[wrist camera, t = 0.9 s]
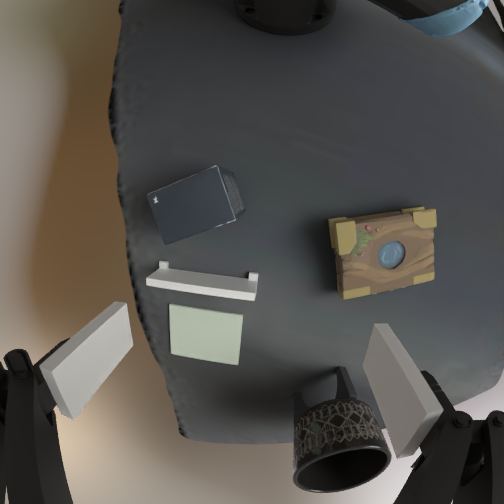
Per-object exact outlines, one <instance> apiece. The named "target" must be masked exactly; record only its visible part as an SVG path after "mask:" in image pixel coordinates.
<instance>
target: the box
mask: <svg viewBox="0 0 504 504" xmlns="http://www.w3.org/2000/svg"><path fill="white" fill-rule="evenodd" d="M147 198H148V201H149V204H150V207H151V209H152V212H153V215H154V218H155V221H156V223H157V226H158V229H159V232H160V234H161V237H162V239H163V242H164V244H165V245H168V244H170V243H173V242H176V241H178V240H181V239H184V238H187V237H190V236H192V235H195V234H198V233H201V232H204V231H207V230H209V229H212V228H215V227H218V226H221V225H224V224H227V223H229V222H233V221H235V220H236V219H237V218H238V217H239V216H240V215H242V214H243V213H244V212H245V211H246V209H245V207H244V204H243V201H242V198H241V195H240V192H239V189H238V186H237V183H236V180H235V177H234V174H233V172H231V171H229V170H227V169H224V168H222V167H220V166H217V165H215V166H213V167H211V168H209V169H206V170H204V171H202V172H199V173H197V174H194V175H192V176H190V177H187V178H185V179H183V180H180V181H178V182H175V183H173V184H171V185H168V186H166V187H163V188H161V189H159V190H156V191H154V192H151V193H149V194H147Z"/></svg>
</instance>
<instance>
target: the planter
mask: <svg viewBox="0 0 504 504" xmlns="http://www.w3.org/2000/svg"><path fill="white" fill-rule="evenodd" d="M336 374H337V394H336V398H335V399H332V400H328V401H325V402H322V403H320V404H317V405H315V406H313V407H312V408H309V407H308V406H307V405H306V404H305V403H304V401H303V399H302V396H301V393H298V394H294V450H293V452H294V453H293V482H294V483H295V485H296V486H298V487H299V488H301V489H302V490H305V491H309V492H315V493H331V492H339V491H344V490H347V489H351V488H354V487H357V486H360V485H362V484H364V483H367V482H369V481H370V480H372V479H374V478H375V477H377V476H378V475H379V474H381V473H382V472H383V471H384V470H385V469H386V468H387V467H388V465H389V464H390V462H391V458H392V455H391V452H390V450H389V447H388V445H387V443H386V440H385V438H384V436H383V433H382V431H381V429H380V426H379V424H378V422H377V420H376V417H375V415H374V413H373V411H372V409H371V408H370V407H369V405H367V404H366V403H365V402H363V401H360V400H357V399H356V398H357V394H356V392H355V389H354V387H353V384H352V382H351V379H350V377H349V375H348V372H347V370H346V368H345V367H340V366H339V367H338V369H337V370H336Z"/></svg>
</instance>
